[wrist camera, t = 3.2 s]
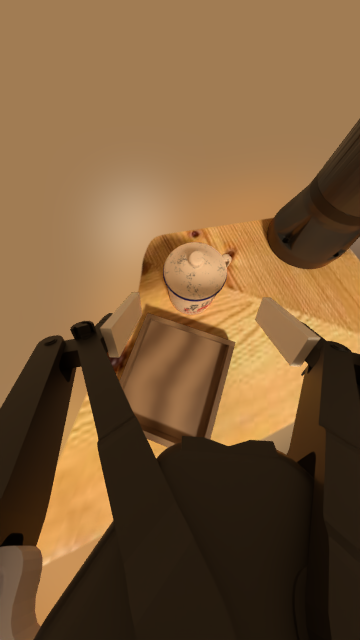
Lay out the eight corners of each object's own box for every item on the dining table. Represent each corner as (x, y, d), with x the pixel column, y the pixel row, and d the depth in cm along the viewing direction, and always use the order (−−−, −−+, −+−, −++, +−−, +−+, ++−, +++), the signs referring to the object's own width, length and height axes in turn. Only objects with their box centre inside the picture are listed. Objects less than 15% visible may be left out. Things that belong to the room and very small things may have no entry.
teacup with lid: (184, 325, 27) (186, 306, 16) (160, 288, 29) (145, 247, 18) (234, 292, 29) (269, 253, 17) (208, 259, 30) (223, 204, 19)
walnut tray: (230, 343, 26) (235, 342, 24) (201, 450, 23) (204, 462, 20) (150, 316, 28) (147, 312, 25) (111, 413, 24) (103, 420, 22)
